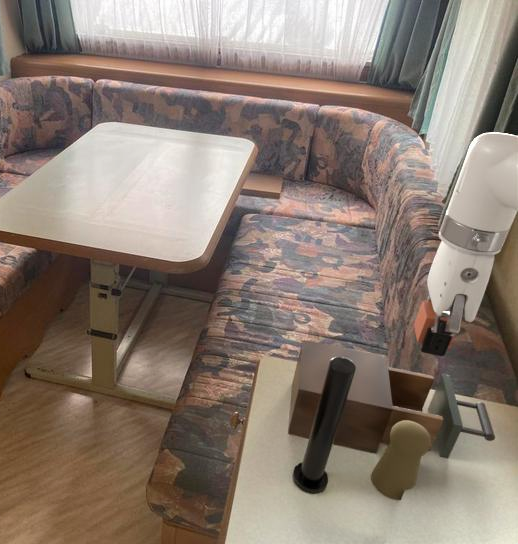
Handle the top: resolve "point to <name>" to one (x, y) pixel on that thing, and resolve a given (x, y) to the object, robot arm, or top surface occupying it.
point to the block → (427, 321)
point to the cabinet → (360, 401)
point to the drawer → (432, 409)
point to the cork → (401, 459)
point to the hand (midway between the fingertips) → (429, 341)
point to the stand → (325, 427)
